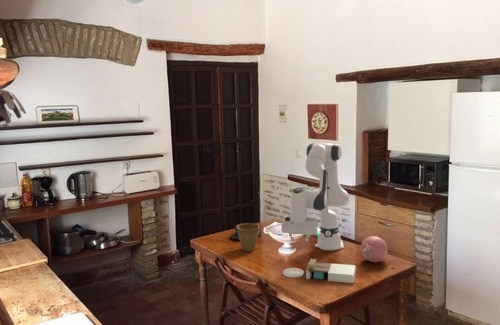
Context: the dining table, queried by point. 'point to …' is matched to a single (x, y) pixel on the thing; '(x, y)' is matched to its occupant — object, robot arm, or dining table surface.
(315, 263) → the lid
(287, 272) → the plate
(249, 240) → the plant pot
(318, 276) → the block
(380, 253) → the pink round piece
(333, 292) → the dining table surface
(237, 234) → the casserole
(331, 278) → the board
